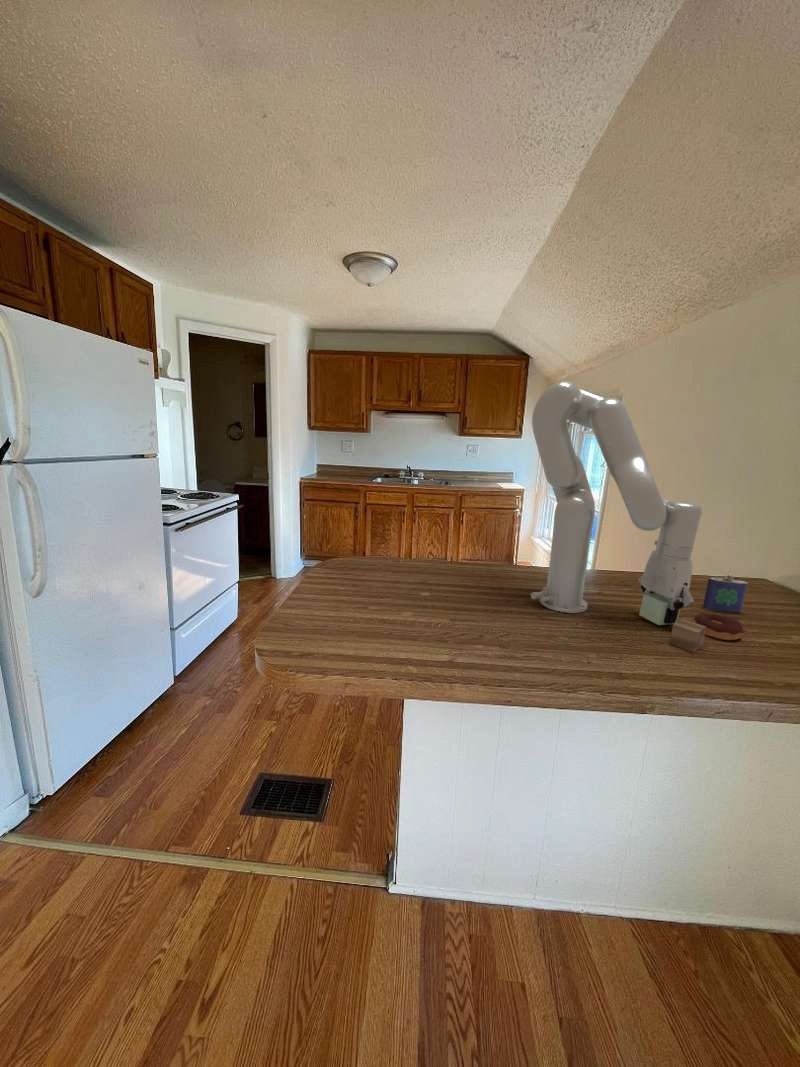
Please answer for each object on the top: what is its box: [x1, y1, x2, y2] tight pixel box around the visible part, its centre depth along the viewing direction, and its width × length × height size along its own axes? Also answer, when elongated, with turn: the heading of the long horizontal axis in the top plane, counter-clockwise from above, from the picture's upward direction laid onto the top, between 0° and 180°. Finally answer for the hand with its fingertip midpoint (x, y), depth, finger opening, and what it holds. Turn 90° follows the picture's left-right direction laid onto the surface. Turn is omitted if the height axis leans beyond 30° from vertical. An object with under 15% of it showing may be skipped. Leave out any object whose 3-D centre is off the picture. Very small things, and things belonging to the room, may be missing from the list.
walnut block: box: [669, 618, 706, 653], centre depth 98 cm, size 5×5×5 cm
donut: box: [692, 612, 744, 641], centre depth 105 cm, size 10×10×4 cm
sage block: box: [638, 593, 681, 626], centre depth 110 cm, size 6×6×6 cm
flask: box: [702, 573, 749, 615], centre depth 118 cm, size 9×3×11 cm, turn 74°
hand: (658, 616), depth 110 cm, fingers closed on sage block, 6 cm apart
